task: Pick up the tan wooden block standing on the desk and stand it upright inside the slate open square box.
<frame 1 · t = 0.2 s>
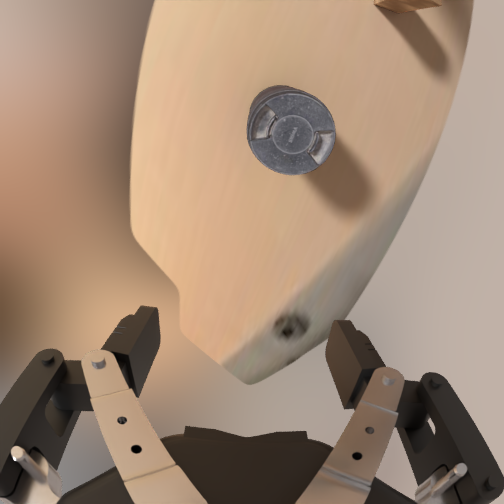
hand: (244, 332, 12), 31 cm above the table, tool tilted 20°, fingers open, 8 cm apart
camera lens: (278, 110, 34), on the table
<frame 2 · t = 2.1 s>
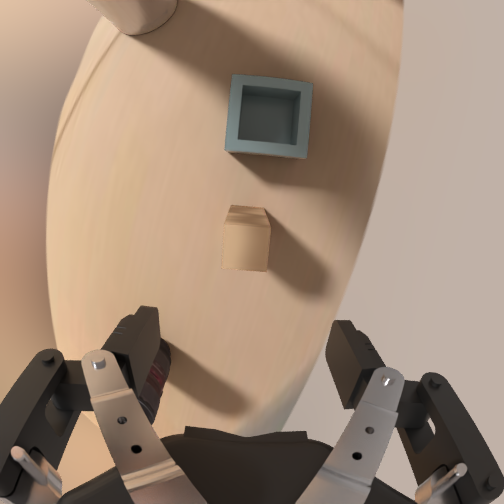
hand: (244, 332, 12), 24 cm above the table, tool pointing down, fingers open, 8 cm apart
slate open square box: (266, 122, 31), on the table
camera lens: (151, 347, 41), on the table
tan wooden block: (245, 222, 34), on the table
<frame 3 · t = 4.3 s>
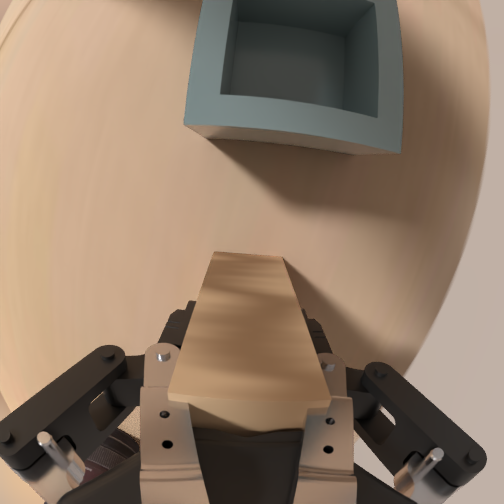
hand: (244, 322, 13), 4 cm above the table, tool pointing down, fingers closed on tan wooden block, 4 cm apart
slate open square box: (287, 75, 13), on the table
camera lens: (113, 436, 23), on the table
tan wooden block: (245, 285, 17), on the table, touching gripper
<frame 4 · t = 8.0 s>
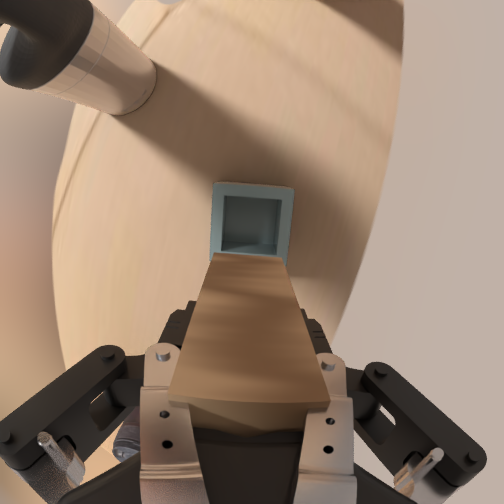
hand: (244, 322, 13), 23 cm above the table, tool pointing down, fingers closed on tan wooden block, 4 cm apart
slate open square box: (250, 217, 34), on the table
camera lens: (156, 397, 44), on the table
tan wooden block: (245, 286, 17), point 18 cm above the table, touching gripper
when the fingers open (6 cm above the table, at t = 11.7 s): tan wooden block stays where it is, resting on slate open square box.
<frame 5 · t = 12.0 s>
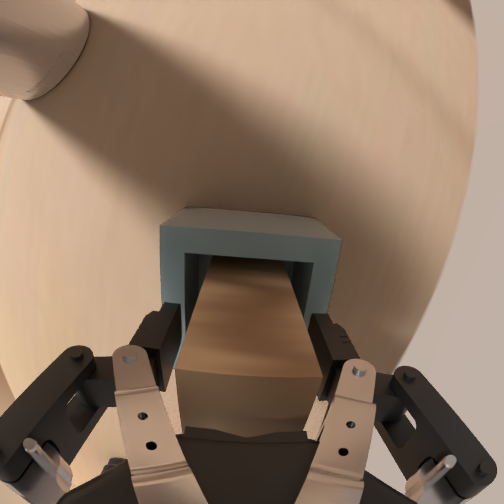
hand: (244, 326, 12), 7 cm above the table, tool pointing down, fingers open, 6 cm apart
slate open square box: (245, 273, 19), on the table
tan wooden block: (245, 279, 18), point 1 cm above the table, touching slate open square box
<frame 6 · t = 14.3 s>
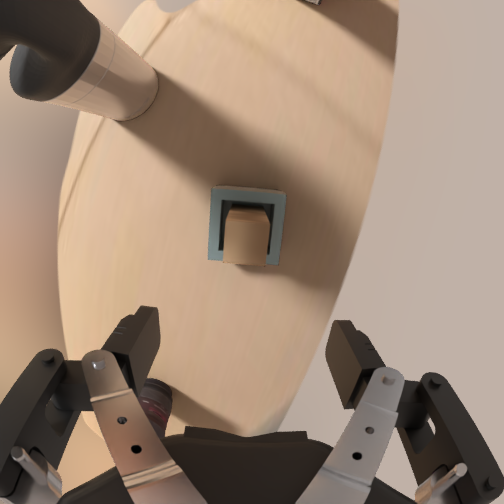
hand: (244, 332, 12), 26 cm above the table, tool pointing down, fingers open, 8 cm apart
slate open square box: (246, 218, 37), on the table
camera lens: (155, 388, 47), on the table
tan wooden block: (246, 220, 36), point 1 cm above the table, touching slate open square box
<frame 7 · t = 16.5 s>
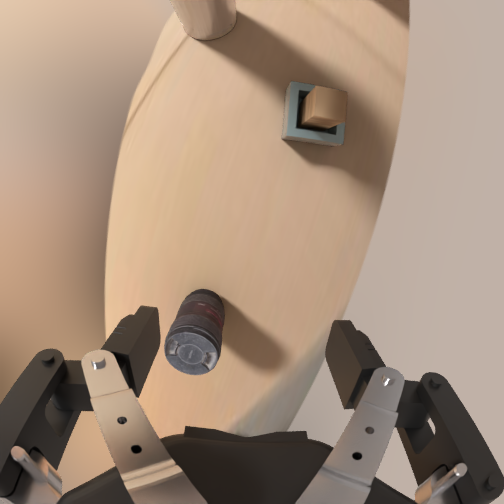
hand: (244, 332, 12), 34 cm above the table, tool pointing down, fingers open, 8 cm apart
slate open square box: (309, 117, 40), on the table
camera lens: (204, 304, 50), on the table
tan wooden block: (311, 117, 39), point 1 cm above the table, touching slate open square box
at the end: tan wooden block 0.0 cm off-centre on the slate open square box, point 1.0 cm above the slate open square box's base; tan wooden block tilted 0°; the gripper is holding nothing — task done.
